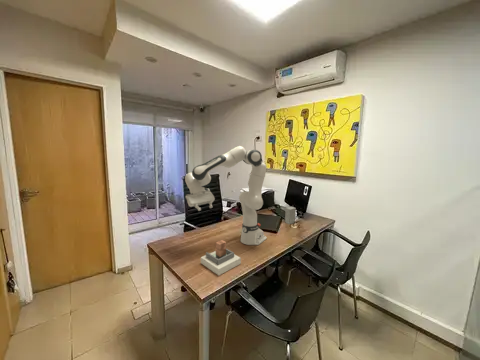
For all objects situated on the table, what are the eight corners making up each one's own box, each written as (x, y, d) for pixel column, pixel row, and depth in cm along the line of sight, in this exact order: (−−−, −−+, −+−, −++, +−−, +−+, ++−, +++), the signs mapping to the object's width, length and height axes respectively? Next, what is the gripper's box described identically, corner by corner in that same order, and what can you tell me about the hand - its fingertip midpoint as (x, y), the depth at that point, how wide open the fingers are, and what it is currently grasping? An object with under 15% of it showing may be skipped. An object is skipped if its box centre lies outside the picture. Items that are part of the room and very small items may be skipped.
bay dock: (222, 253, 142) (222, 243, 141) (240, 263, 130) (240, 253, 129) (200, 263, 130) (200, 252, 129) (218, 275, 117) (218, 264, 116)
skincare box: (290, 221, 209) (291, 206, 207) (295, 223, 203) (296, 207, 200) (284, 222, 205) (285, 207, 203) (289, 224, 199) (289, 209, 196)
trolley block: (221, 254, 132) (221, 240, 131) (225, 256, 129) (226, 242, 128) (215, 257, 129) (215, 242, 127) (219, 259, 126) (219, 244, 124)
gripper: (186, 192, 135) (194, 209, 130) (210, 188, 150) (219, 203, 144) (182, 197, 139) (190, 214, 134) (207, 193, 153) (215, 208, 148)
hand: (205, 208), depth 139 cm, fingers open, 8 cm apart
